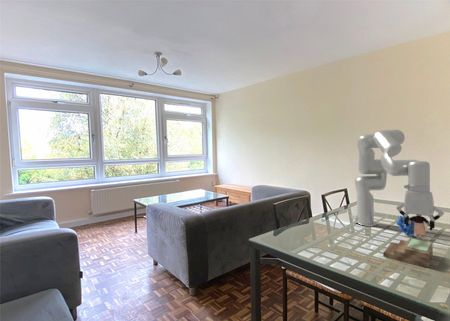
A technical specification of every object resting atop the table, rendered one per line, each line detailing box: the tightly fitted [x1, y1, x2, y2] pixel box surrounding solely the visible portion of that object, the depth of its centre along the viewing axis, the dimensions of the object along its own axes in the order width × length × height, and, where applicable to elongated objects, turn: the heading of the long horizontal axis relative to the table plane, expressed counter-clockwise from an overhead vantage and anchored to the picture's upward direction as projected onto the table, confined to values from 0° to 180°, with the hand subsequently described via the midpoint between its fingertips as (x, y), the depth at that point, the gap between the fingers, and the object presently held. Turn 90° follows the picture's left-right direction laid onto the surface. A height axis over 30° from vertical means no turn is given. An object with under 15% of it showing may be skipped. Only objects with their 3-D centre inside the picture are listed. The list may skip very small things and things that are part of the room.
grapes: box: [395, 215, 417, 238], centre depth 132 cm, size 12×7×12 cm, turn 37°
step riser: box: [383, 237, 434, 269], centre depth 110 cm, size 16×16×6 cm
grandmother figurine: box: [408, 215, 430, 239], centre depth 107 cm, size 8×4×13 cm, turn 64°
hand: (418, 227), depth 107 cm, fingers closed on grandmother figurine, 7 cm apart
